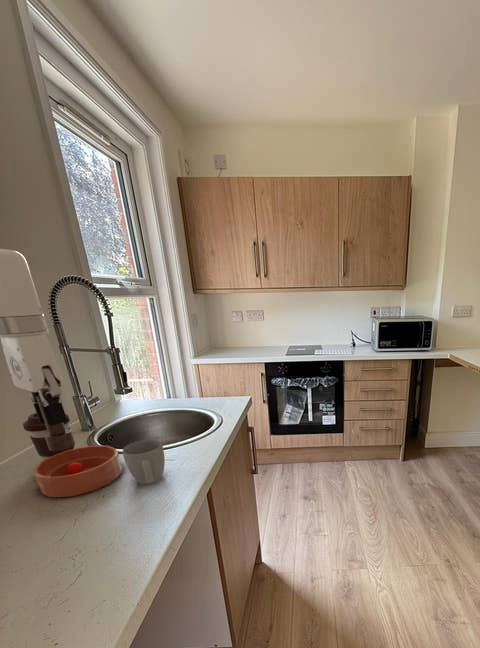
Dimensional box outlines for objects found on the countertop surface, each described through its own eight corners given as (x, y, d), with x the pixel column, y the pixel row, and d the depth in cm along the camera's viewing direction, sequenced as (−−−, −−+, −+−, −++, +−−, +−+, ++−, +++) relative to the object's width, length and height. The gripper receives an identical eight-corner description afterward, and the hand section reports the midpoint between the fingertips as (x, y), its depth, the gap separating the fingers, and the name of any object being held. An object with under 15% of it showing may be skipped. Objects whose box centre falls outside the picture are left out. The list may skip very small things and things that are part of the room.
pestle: (55, 452, 69) (36, 399, 65) (45, 448, 71) (26, 396, 67) (79, 444, 72) (62, 393, 68) (68, 440, 74) (52, 390, 70)
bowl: (64, 507, 78) (55, 484, 76) (29, 488, 87) (20, 466, 84) (136, 473, 92) (131, 453, 90) (100, 459, 100) (94, 440, 98)
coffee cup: (49, 475, 92) (29, 423, 86) (33, 466, 97) (14, 416, 91) (89, 460, 100) (73, 411, 94) (72, 453, 105) (56, 405, 99)
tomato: (73, 480, 88) (69, 467, 87) (66, 476, 90) (61, 464, 88) (88, 473, 91) (84, 461, 90) (81, 470, 93) (77, 458, 91)
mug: (130, 477, 90) (121, 444, 86) (167, 469, 94) (159, 436, 90) (133, 500, 80) (122, 463, 77) (173, 489, 84) (165, 454, 81)
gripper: (-23, 326, 64) (14, 420, 71) (14, 330, 56) (51, 436, 63) (26, 323, 69) (55, 410, 77) (65, 326, 61) (94, 423, 68)
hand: (53, 421), depth 70 cm, fingers closed on pestle, 2 cm apart
